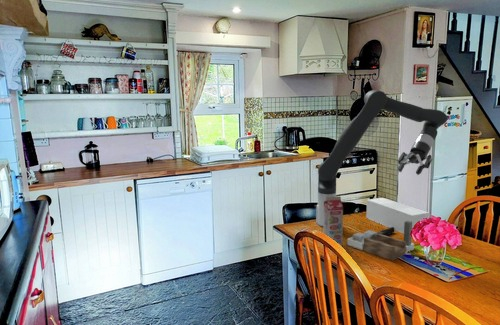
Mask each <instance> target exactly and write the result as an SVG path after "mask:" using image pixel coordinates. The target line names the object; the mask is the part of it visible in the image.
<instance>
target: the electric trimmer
mask: <svg viewBox="0 0 500 325" xmlns="http://www.w3.org/2000/svg"><path fill="white" fill-rule="evenodd" d="M377 233H378V234H382V235H385V236H388V237H389V236H390V235H392V234H393V233H395V230H394V227H391V228H388V227H387V229H386V228H385V229H382V230H379V231H377Z"/></svg>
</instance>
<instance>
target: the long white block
mask: <svg viewBox="0 0 500 325" xmlns="http://www.w3.org/2000/svg"><path fill="white" fill-rule="evenodd" d="M365 217H366V219H367V218H368V219H367V220H370V221H372V222H374V221H375V223H377V224H379V223H380V224H379V225H381V224H382V226H383V227H387V228H388V227H389V228H391V227H394V231H395V232H399V233H400V234H403V235H404V223H405V221H410V222H412V228H413V227H414V225H415V224H416V223H417V222H418V221H420V220H422V219H423V218H429V219H430V212H428V211H425V210H422V209H419V208H415V207H412V206H410V205H407V204H403V203H400V202H397V201H395V200H391V199H388V198H385V197H379V198H370V199H366V215H365Z"/></svg>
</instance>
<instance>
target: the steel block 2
mask: <svg viewBox="0 0 500 325" xmlns="http://www.w3.org/2000/svg"><path fill="white" fill-rule="evenodd" d="M377 232H378V231H377ZM377 232H376V231H373V230H366V231H364V232H363V234H364V238H368V239H371V240H375V241H377Z"/></svg>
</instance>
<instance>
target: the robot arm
mask: <svg viewBox="0 0 500 325" xmlns="http://www.w3.org/2000/svg"><path fill="white" fill-rule="evenodd" d="M363 101H364V105H363V107H362V109H361V110H360V112H359V113H358V114H357V116H355V117H354V118H353V119H352V120H351V121H350V122H348V124H347V125H346V126H345V127H344V130H342V132H341V134H340V135H339V137H338V139H337V141H336V142H335V144H334V146H333V147H334V148H333V149H332V151H331V153H330V154H329V155H328V157H327V158H326V159H325V160H324V161H323V162H321V163H320V164H319V165H318V169H317V180H318V183H317V205H316V208H315V210H316V211H315V212H316V213H315V218H316V219H315V223H316V224H317V225H318V226H320V227H323V218H324V202H325V201H326V197H337V173H338V171H339V169H341V167H342V164H343V163H344V161H345V160H346V159H347V158H348V156H349V155H350V154H351V153H352V152H353V150H354V148H356V146H357V145H358V143H359V142H360V140H362V137H363V136H364V134H365V133H366V132H367V129H369V127H370V125H371V124H372V122H373V121H374V119H375V118H376V117H377V116H378V115H379V113H380V112H381V111H383V110H384V111H387V112H390V113H393V114H396V115H397V116H401V117H403V118H405V119H408V120H410V121H414V122H416V123H422V122H423V125H422V129H421V130H420V133H419V135H418V137H416V139H415V141H414V143H413V145H412V147H411V149H410V151H409V153H406V152H405V151H402V152H401V154H400V155H399V157H398V159H397V163H398V167H397V170H398V172H399V173H402V171H403V170H404V168H405V166H406V165H410V164H417V165H418V164H419V165H418V166H417V169H416V171H415V173H416V175H417V176H419V175H420V174H422V172H423V170H424V169H429V168H430V165H431V164H432V161H433V157H432V155H431V154H429V152H430V151H431V148H432V147H433V145H434V141H435V140H436V138H437V136H438V129H439V128H440V127H441V126H443V125H444V124H446V123H447V122H448V116H447V114H446V113H445V112H444V111H442V110H439V109H433V108H423V107H421V106H418V105H415V104H412V103H407V102H405V101H400V100H397V99H394V98H391V97H390V96H387V94H386V93H385V92H384V91H383V90H379V89H378V90H377V89H372V90H369V91H368V92H367V93H365V95H364V97H363ZM423 161H425V162H424V163H423Z"/></svg>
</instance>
